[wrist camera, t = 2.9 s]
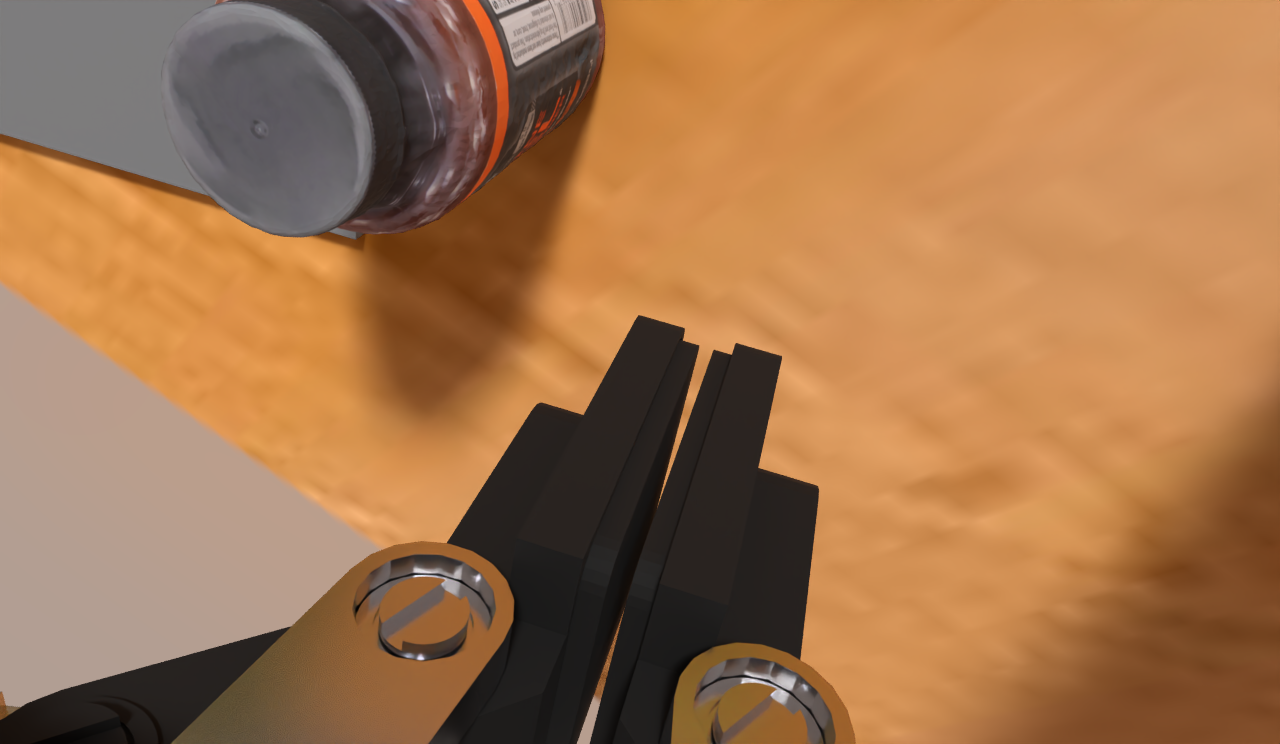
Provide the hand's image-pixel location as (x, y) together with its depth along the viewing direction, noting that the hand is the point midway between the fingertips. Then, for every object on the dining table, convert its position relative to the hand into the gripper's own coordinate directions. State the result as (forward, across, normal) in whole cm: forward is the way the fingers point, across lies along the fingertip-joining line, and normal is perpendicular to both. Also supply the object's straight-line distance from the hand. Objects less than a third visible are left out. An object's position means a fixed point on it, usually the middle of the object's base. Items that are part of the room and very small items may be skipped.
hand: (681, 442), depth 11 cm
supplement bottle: (+16, +8, 0) cm, 18 cm away
